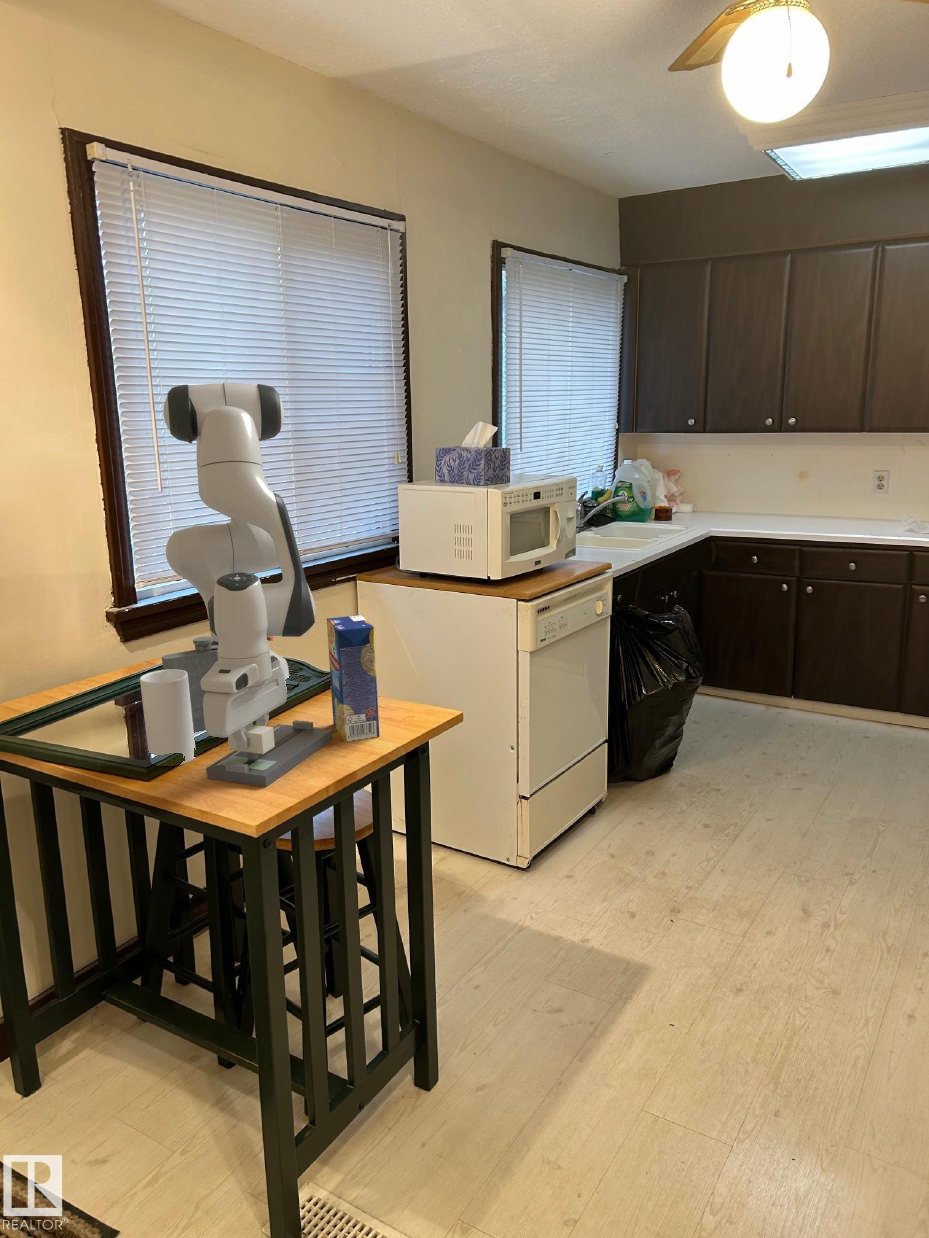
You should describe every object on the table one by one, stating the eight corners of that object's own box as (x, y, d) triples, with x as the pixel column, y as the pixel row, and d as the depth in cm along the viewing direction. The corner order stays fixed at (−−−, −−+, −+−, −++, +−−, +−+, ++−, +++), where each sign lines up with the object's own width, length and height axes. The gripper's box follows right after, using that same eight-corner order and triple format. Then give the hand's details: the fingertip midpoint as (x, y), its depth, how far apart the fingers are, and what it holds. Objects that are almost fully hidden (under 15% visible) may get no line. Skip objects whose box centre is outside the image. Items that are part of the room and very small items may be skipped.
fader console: (278, 733, 176) (277, 718, 176) (332, 739, 172) (331, 724, 171) (207, 778, 156) (205, 761, 155) (266, 786, 151) (264, 769, 151)
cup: (179, 746, 171) (170, 666, 167) (205, 756, 166) (196, 673, 162) (140, 760, 165) (130, 677, 161) (165, 770, 160) (156, 685, 156)
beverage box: (366, 719, 183) (360, 614, 178) (379, 736, 173) (373, 626, 168) (333, 723, 181) (326, 618, 176) (344, 742, 171) (337, 630, 166)
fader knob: (242, 752, 161) (239, 723, 159) (275, 756, 158) (273, 727, 157) (230, 759, 157) (227, 730, 156) (264, 764, 155) (261, 734, 154)
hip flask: (173, 747, 171) (161, 646, 166) (169, 741, 174) (157, 641, 170) (255, 731, 178) (246, 634, 173) (249, 725, 181) (241, 630, 177)
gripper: (263, 651, 164) (268, 722, 168) (193, 683, 146) (201, 762, 149) (292, 653, 162) (298, 725, 165) (226, 686, 144) (233, 767, 147)
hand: (251, 743), depth 157 cm, fingers closed on fader knob, 4 cm apart
